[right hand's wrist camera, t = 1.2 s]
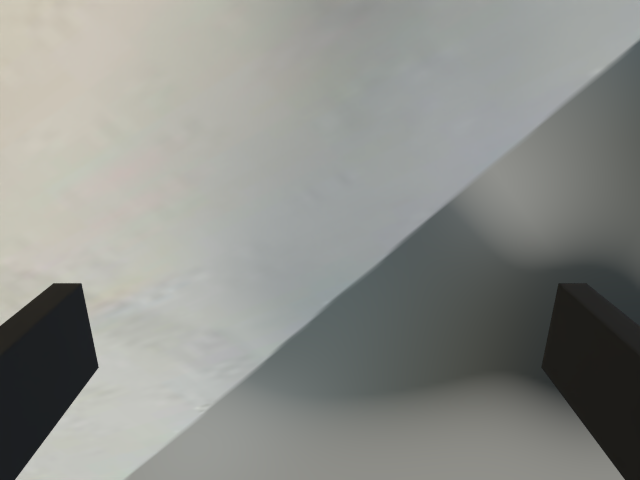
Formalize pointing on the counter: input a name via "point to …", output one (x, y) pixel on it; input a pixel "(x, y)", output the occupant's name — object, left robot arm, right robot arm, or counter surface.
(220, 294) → the counter surface
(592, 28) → the counter surface
